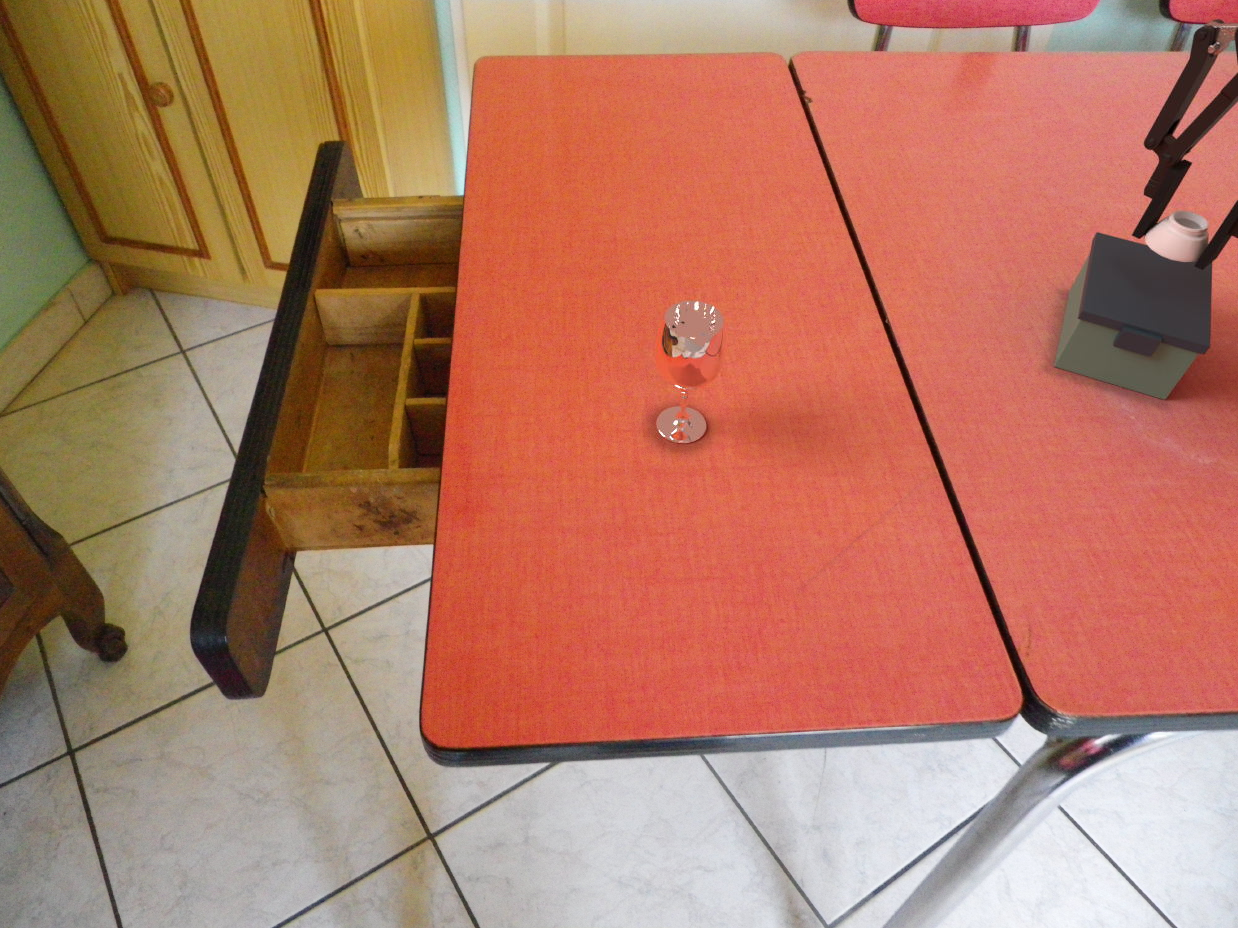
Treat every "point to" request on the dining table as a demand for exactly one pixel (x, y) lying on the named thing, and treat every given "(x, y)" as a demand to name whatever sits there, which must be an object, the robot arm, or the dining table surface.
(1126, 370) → the box
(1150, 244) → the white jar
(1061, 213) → the dining table surface
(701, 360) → the wineglass
